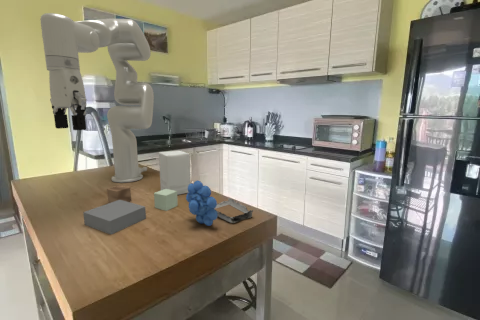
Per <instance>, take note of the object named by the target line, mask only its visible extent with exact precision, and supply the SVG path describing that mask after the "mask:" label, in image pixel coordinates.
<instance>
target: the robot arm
mask: <svg viewBox="0 0 480 320" xmlns="http://www.w3.org/2000/svg"><path fill="white" fill-rule="evenodd" d="M39 21H40V29H41V38H42V42H43V43H42V44H43V51H44V59H45V67H46V71H48V73H49V74H48V76H49V78H48V79H49V80H48V81H49V94H50V100H49V101H50V104H51V109H52V114H53V119H54V126H55V128H56V129H68V128H69V122H68V121H69V120H68V114H66V112H67V109H69V110H70V111H71V113H72V115H71V116H70V117H71V123H72V130H73V131H86V130H87V124H86V123H87V122H86V115H87V114H86V113H87V112H86V109H87V97H86V91H85V86H84V81H83V77H82V74H81V69H80V67H81V66H80V60H79V58H80V57H79V53H87V54H88V53H94V52H96V51H98V50H99V48H106V47H107V52H108V54H109V57H110V59H111V61H112V65H113V66H114V69H115V83H114V93H113V94H114V100H115V102H116V103H118V105H114V106H112V107H110V108H109V109H108V111H107V115H106V117H107V121H108V125H109V129H110V132H111V142H112V143H111V145H112V156H113V165H114V175H112V176H111V181H112V182H113V183H132V182H136V181H139V180H142V179H143V177H144V175H143V174H142V173H143V172H147V171H148V167H147V166H144V167H140V166H139V159H138V145H137V144H138V142H137V138H136V137H137V136H135V134H134V132H133V131H132V130H145V129H149V128H150V127H151V126H152V123H153V114H154V104H155V103H154V101H155V99H154V98H155V97H154V96H155V93H154V89H153V87H152V85H150V84H149V83H148V82H138V72H137V71H136V70H135V68H134V67H133V66H132V65H131V64H130V61H132V62H133V61H134V62H137V61H138V62H139V61H141V62H145V61H148V60H149V59H150V58H151V47H150V44H149V42H148V39H147V38H146V36H145V34H144V32H143V30H142V28H141V27H140V26H139V24H138V23H137V22H136V21H135V20H133V19H131V18H109V17H108V18H99V19H88V20H78V21H77V20H76V21H74V20H73V19H72V18H71V17H69V16H67V15H63V14H60V13H55V12H48V13H43V14H41V16H40V20H39ZM128 61H129V62H128ZM119 104H120V105H119Z"/></svg>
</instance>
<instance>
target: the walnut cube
mask: <svg viewBox="0 0 480 320" xmlns="http://www.w3.org/2000/svg"><path fill="white" fill-rule="evenodd" d="M106 192H107V202H108V203H111V202H114V201H117V200H123V201H127V202H130V203H132V193H131V187H130V186H125V185H123V184H121V185H116V186H112V187H110V188H106ZM108 203H107V204H108Z"/></svg>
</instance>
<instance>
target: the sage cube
mask: <svg viewBox="0 0 480 320" xmlns="http://www.w3.org/2000/svg"><path fill="white" fill-rule="evenodd" d="M153 198H154V208H155V209H158V210H162V211H165V212H167V211H170V210H172V209H174V208H176V207H178V195H177V191H174V190H169V189H164V190H161V189H160V190H158V191H156V192H154V193H153Z"/></svg>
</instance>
